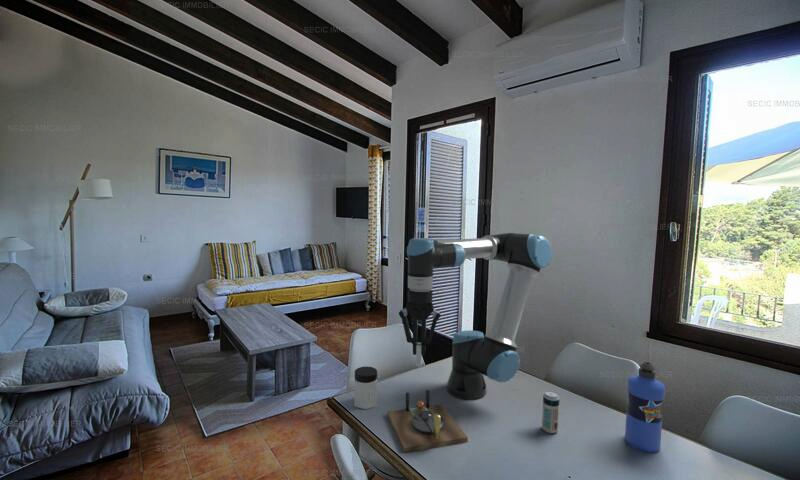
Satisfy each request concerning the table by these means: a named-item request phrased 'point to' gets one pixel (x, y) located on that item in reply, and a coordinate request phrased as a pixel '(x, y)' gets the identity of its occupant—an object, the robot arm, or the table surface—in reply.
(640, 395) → the water bottle
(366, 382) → the jar
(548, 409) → the supplement bottle
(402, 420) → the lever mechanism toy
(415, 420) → the grey metal domed piece
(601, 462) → the table surface
